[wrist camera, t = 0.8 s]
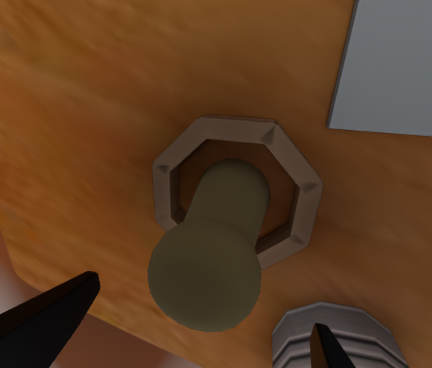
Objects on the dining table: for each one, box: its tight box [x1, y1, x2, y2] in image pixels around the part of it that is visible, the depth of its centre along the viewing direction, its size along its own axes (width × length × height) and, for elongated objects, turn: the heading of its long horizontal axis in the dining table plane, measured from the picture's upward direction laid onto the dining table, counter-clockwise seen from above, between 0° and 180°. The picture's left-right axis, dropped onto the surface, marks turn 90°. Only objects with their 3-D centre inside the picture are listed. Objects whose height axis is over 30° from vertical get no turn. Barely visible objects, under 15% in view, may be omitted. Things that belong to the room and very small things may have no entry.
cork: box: [148, 159, 270, 332], centre depth 14 cm, size 6×6×11 cm
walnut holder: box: [152, 115, 324, 270], centre depth 18 cm, size 12×12×2 cm
